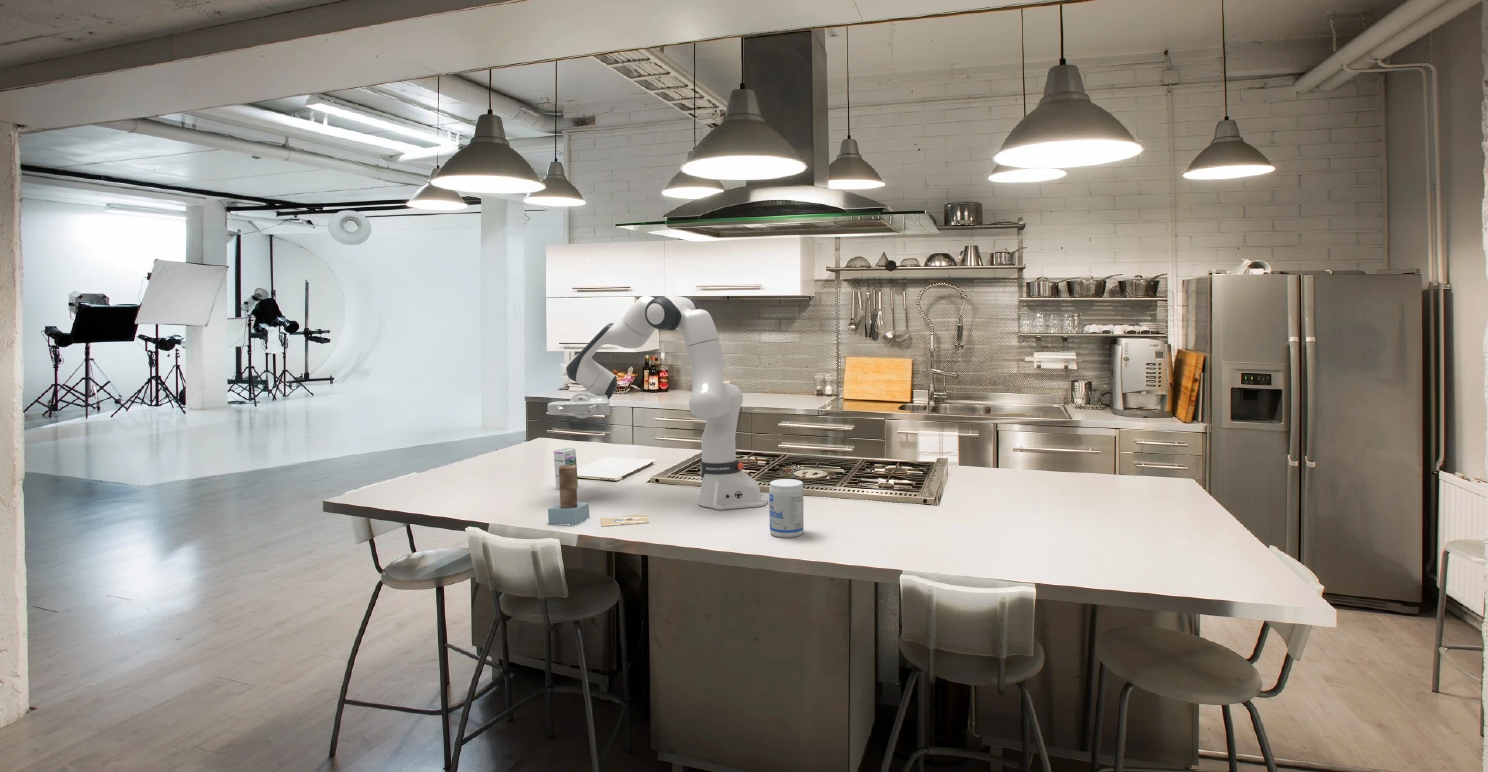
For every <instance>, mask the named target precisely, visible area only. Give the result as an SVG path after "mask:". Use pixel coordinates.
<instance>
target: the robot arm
mask: <svg viewBox="0 0 1488 772" xmlns="http://www.w3.org/2000/svg"><path fill="white" fill-rule="evenodd" d="M656 329H657V330H660V331H677V330H678V331H679V332H680V333H681V334H682V337H683V339H684V344H685V349H686V352H687V357H688V360H689V365H690V370H691V396H690V398H689V401H688V407H689V410H690V411H689V412H691V415H692V416H693V417H695V419H697V420H701V421H705V425H704V430H703V433H701V441H700V443H701V461H700V478H701V485H700V486H701V487H700V494H699V498H698V499H699V500H698V502H697V503H698V505H700V506H701V507H706V508H710V509H714V510H719V511H720V510H721V511H722V510H733V509H747V508H758V507H763V506H766V505H767V504H768V499H767V498H768V497H767V496H766V495H764V494H762V493H761V489H760V485H759V483H758V482H757V481H756V480H755V479H754V478H753V477H751V476H750V475H749V474H747V473H746V472H744V471H743V469H744V468H745V465H744V463H743V462H742V461H741V460H739V459H737V458H736V453H737V452H736V435H737V434H736V433H737V425H738V419H739V413H740V411H741V410H740V409H741V407H742V404H743V402H744V395H743V392H742V391H741V389H740V388H739V386H737V385H735V384H733V383H730V382H724V367H725V365H726V364H725V363H726V361H725V357H724V353H723V350H722V345H721V342H720V341H721V340H720V337H719V334H718V330H717V328H716V325H715V323H714V320H713V318H712V316H711V314H710V313H709V312H708V311H707V310H705V309H702V308H700V306H699V304H698V303H697V301H696V300H695V299H694V298H691V297H689V296H679V295H678V296H677V295H665V296H658V297H653V296H651V295H642V296H641V297H639V298H638V299H637V300H636V301H635V302H634V303H633V304H632V305H631V306H630V308H629V309H628V310H627V312H626V313H625V314H624V316H623V318H622V319H620V320H619V321H618V322H616V323H615V322H614V323H613V322H610V323H608V324H607V325H605V326H604V327H602V328H601V330H600V331H599V332H598V333H597V334H595V336H594V337H593V338H592V339H591V340H590V341H589V342H588V343H587V344H586V346H584V348H582V350H581V351H580V352H579V353H577V354H575V356H573V357H572V358H571V359H570V360H569V361H568V364H566V368H565V370H566V371H565V372H566V375H567V376H568V379H570V380H571V381H573V382H575V383H576V384H578V385H581V386H582V387H583V388H584V389H583V390H581V391H579V392H576V393H575V394H574V395H572V397H570V399H569V400H559V401H553V402H549V403H547V413H548V415H572V416H574V417H575V418H578V419H587V418H590V417H593V416H599V415H608V414H609V413H610V399H611V398H612V396H613V395H614V393H615V391H616V390H617V387H618V378H617V375H615V373H613V372H611V371H610V370H609V369H607V368H605V367H604V366H602V365H601V364H599V363H598V362H597V361H595V360H594V359H593V356H594V355H595V354H596V353H597V352H598V351H599V349H601V348H602V346H604V345H611V346H612V345H613V346H617V347H621V348H624V349H630V350H631V349H638V348H641V347H643V346H644V345H645V344H646V342H648V340H649V339H650V338H651V337H652V335H653V333H654V331H656Z"/></svg>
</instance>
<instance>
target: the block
mask: <svg viewBox="0 0 1488 772" xmlns="http://www.w3.org/2000/svg"><path fill="white" fill-rule="evenodd" d="M559 483H560V490H559V503H560V508H568V507H577V502H578V491H577V484H576V465H566V466H559Z"/></svg>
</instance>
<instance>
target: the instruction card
mask: <svg viewBox="0 0 1488 772" xmlns="http://www.w3.org/2000/svg"><path fill="white" fill-rule="evenodd" d="M604 517H605V516H604ZM607 517H608V516H606V517H605V518H603V517H600V523H601V525H602V526H605V527H613V526H612V525H610V524H630V525H638V524H637V523H640V522H635V523H634V522H624V523H623V522H622V523H621V522H616V521H645V522H641V523H643V524H650V521H649V519H648V515H647V514H646V515H642V514H632V515H631V514H630V515H618V516H617V515H615V517H643V518H639V519H634V518H633V519H632V518H628V519H624V518H622V519H619V518H607ZM644 517H647V518H644ZM613 521H614V522H613ZM648 521H649V522H648ZM601 525H600V526H601ZM602 526H601V527H602Z"/></svg>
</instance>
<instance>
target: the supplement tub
mask: <svg viewBox="0 0 1488 772" xmlns="http://www.w3.org/2000/svg"><path fill="white" fill-rule="evenodd" d="M803 484H804V482H803V481H802V480H799V479H793V478H781V479H779V478H778V479H774V480H772V481H770V482H769V489H768V490H769V492H768V496H769V497H768V499H769V501H768V503H769V505H768V507H769V517H768V518H769V533H770V534H771V535H772V536H773V537H777V538H785V539H787V538H788V539H789V538H790V539H791V538H796V537H799V536H801V535H802V534H803V533H804V529H805V528H804V527H805V526H804V523H805V522H804V521H805V520H804V485H803Z"/></svg>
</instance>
